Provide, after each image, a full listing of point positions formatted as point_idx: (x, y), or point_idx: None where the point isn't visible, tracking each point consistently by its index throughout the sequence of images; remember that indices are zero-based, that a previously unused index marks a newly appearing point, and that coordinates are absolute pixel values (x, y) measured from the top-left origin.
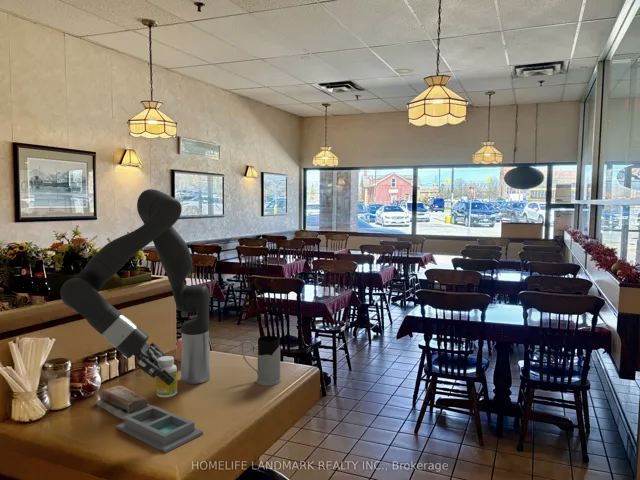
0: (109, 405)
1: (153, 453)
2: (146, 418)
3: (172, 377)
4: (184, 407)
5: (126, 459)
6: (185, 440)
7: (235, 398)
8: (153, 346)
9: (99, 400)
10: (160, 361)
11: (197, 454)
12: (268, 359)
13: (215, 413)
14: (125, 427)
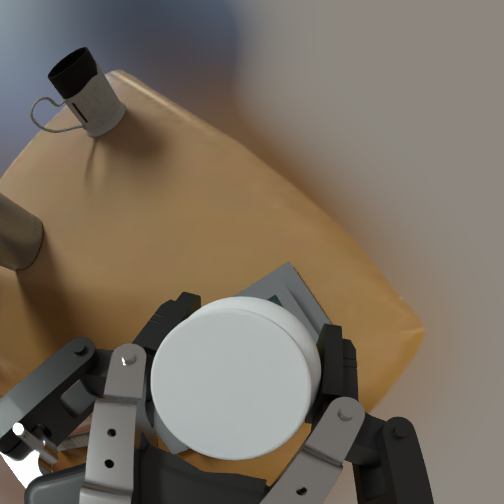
0: (74, 439)
1: None
2: None
3: (338, 335)
4: (121, 288)
5: None
6: (320, 308)
7: (135, 173)
8: (12, 437)
9: None
10: (282, 442)
11: (380, 286)
12: (97, 83)
13: (186, 220)
14: None
